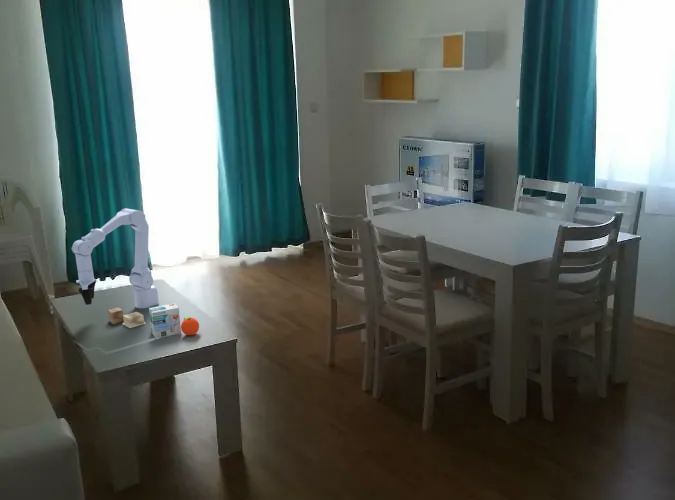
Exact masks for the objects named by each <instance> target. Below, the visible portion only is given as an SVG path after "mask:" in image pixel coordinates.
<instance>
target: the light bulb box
mask: <svg viewBox="0 0 675 500" xmlns="http://www.w3.org/2000/svg"><path fill="white" fill-rule="evenodd" d="M148 312H149V313H148V314H149V323H150V331H151V334H152V335H153V337H154V339H159V338H166V337H171V336H174V335H175V336H176V335H182V330H181V317H180V307H178V305H177V304H176V303H175V302H174V303H170V304H169V303H168V304H163V305H159V306H158V305H157V306H151V307H148Z"/></svg>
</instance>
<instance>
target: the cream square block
mask: <svg viewBox="0 0 675 500" xmlns="http://www.w3.org/2000/svg"><path fill="white" fill-rule="evenodd" d="M144 318H145V317H144V314H142V313H141V312H138V311H134V312H130V313H127V314H123V319H124V321H123V323H124V324H126V325H127V326H129V327H132V328H134V327H133V326H135V327H137V326H136V325H139V326H141V325H140V324H142V325H145V324H144V322H145V319H144ZM127 326H126V327H127ZM129 327H128V328H129Z"/></svg>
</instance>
